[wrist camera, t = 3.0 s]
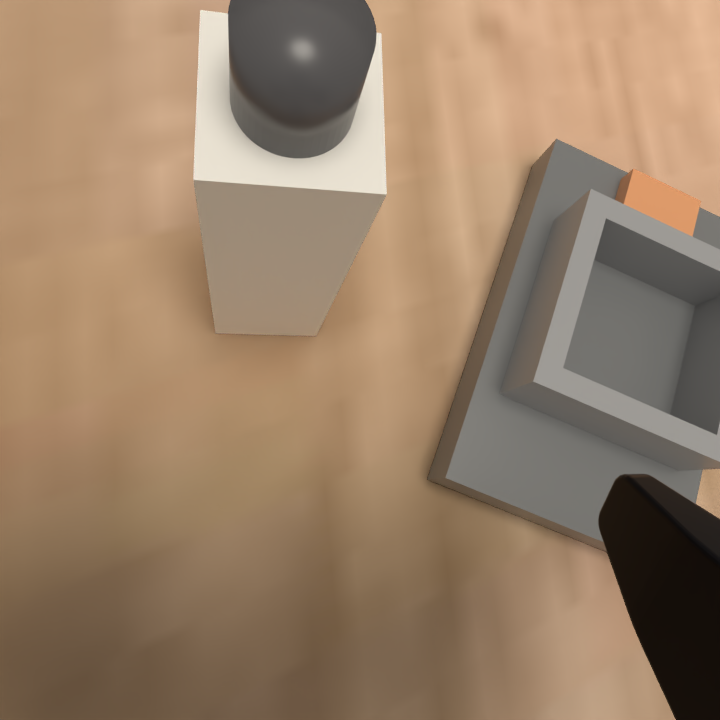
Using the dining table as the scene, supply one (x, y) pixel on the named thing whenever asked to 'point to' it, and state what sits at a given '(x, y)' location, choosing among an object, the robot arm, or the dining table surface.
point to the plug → (286, 157)
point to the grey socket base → (591, 349)
